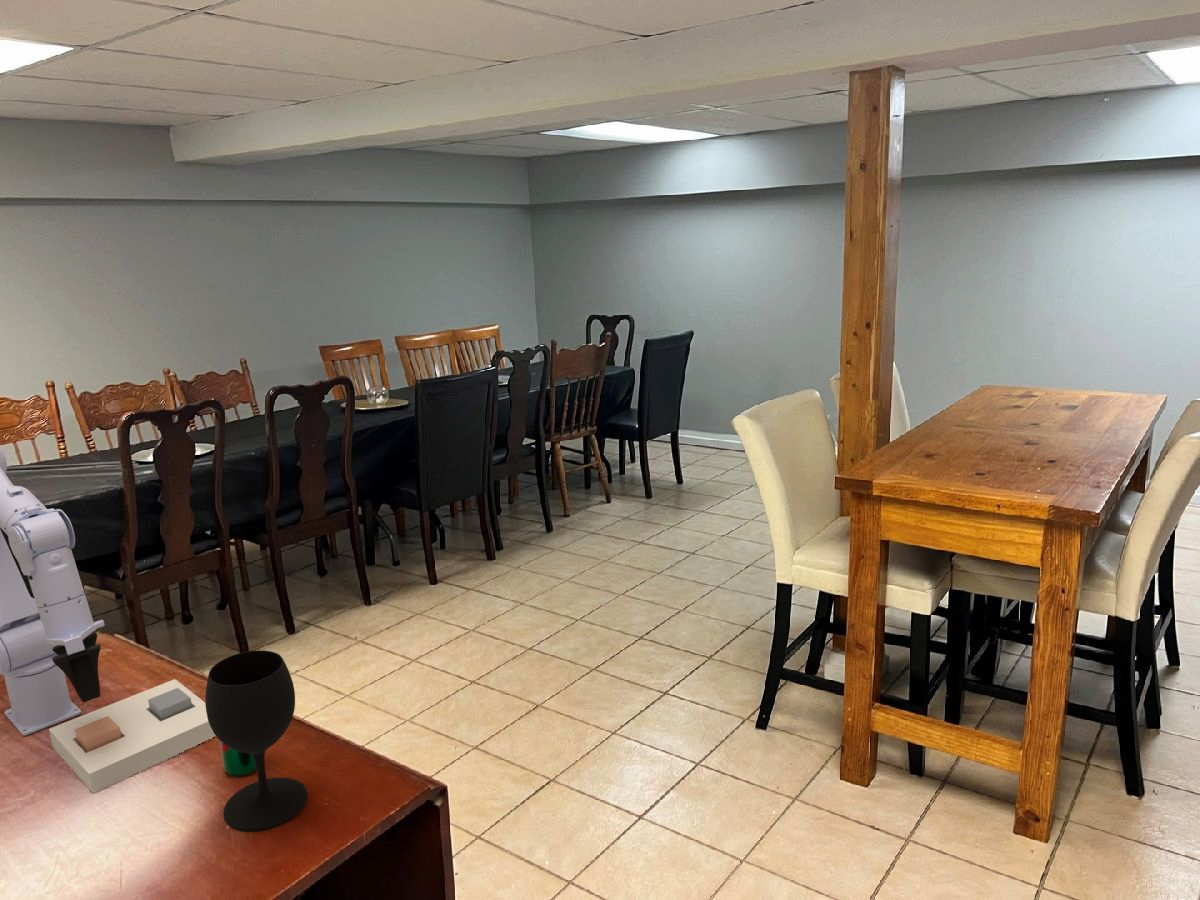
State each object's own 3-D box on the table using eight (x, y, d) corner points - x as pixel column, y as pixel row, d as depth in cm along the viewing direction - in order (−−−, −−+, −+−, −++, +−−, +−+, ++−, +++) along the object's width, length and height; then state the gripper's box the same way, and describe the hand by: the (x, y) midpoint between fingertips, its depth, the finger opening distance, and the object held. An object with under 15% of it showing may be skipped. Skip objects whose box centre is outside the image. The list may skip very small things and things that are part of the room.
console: (52, 747, 127) (48, 729, 126) (177, 695, 140) (174, 679, 139) (93, 793, 117) (89, 773, 116) (224, 733, 129) (221, 715, 129)
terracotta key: (77, 741, 124) (74, 729, 123) (110, 728, 127) (107, 715, 126) (88, 753, 121) (85, 741, 120) (122, 739, 124) (119, 727, 123)
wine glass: (222, 792, 116) (201, 657, 111) (304, 771, 120) (287, 640, 115) (223, 841, 107) (200, 697, 102) (311, 817, 111) (293, 677, 106)
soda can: (249, 780, 119) (238, 701, 115) (216, 776, 120) (204, 698, 116) (270, 757, 123) (259, 682, 120) (238, 754, 124) (226, 678, 121)
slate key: (150, 711, 131) (148, 699, 130) (179, 699, 134) (177, 687, 133) (162, 722, 128) (160, 710, 127) (192, 709, 131) (190, 697, 131)
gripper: (96, 596, 115) (126, 692, 117) (91, 585, 128) (118, 672, 129) (35, 615, 112) (66, 714, 113) (36, 601, 124) (64, 691, 125)
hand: (90, 693), depth 121 cm, fingers open, 7 cm apart
